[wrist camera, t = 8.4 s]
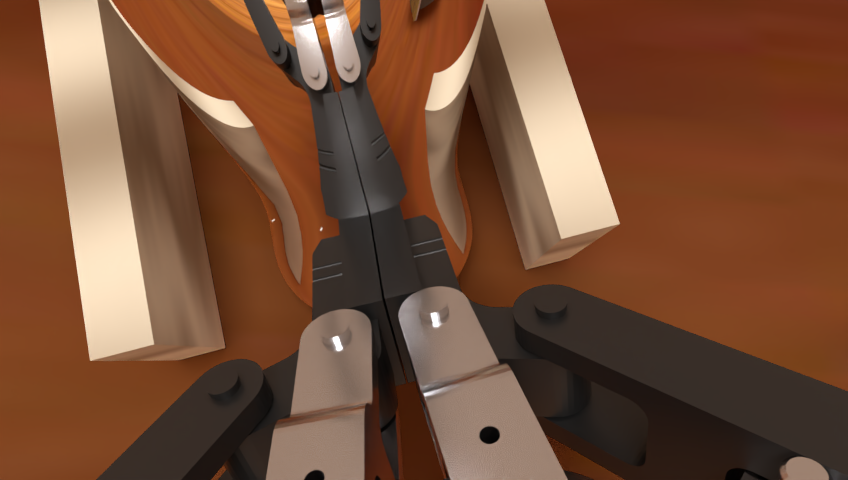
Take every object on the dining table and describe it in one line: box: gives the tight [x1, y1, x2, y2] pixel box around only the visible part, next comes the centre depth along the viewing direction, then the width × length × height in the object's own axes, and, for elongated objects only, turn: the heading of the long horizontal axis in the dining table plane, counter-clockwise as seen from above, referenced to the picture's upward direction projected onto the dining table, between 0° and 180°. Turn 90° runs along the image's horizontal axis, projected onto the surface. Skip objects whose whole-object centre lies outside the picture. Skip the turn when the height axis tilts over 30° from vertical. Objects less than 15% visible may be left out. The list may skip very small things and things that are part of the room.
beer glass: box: [109, 0, 487, 307], centre depth 12 cm, size 7×7×15 cm
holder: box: [39, 0, 620, 361], centre depth 16 cm, size 12×13×7 cm
